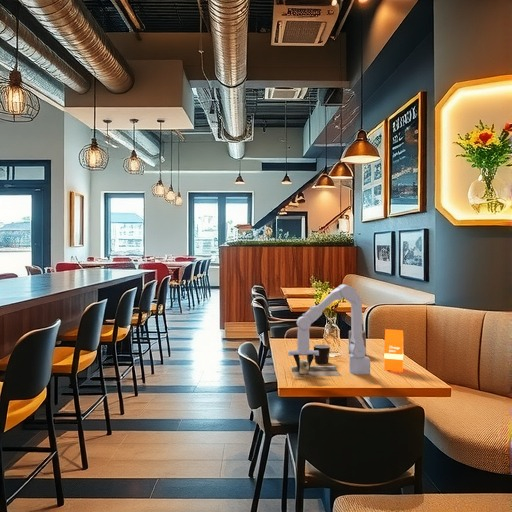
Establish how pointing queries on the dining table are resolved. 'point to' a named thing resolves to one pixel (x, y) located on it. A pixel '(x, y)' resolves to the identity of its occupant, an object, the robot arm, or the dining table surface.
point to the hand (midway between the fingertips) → (303, 370)
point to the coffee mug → (322, 354)
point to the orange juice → (393, 350)
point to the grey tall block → (362, 337)
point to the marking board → (317, 371)
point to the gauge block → (304, 367)
